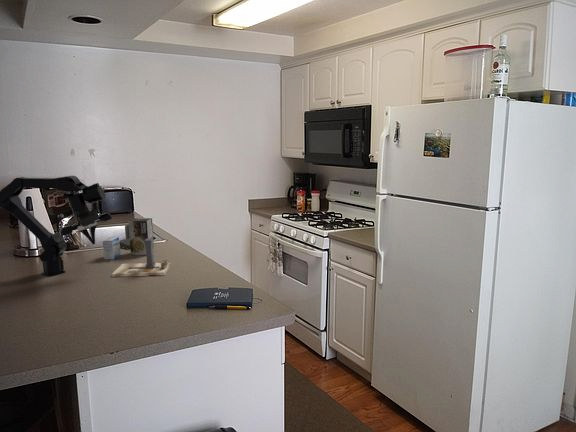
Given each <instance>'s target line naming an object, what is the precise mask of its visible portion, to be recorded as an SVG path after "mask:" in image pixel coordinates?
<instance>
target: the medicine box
mask: <svg viewBox="0 0 576 432" xmlns="http://www.w3.org/2000/svg"><path fill="white" fill-rule="evenodd" d="M119 241H120V237H119V236H110V237H108V238H107V239H105V240H102V249H103V258H104V260H107V261H108V260H116V259H117V258H119V257H120V256H121V247H120V243H119Z"/></svg>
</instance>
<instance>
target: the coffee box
mask: <svg viewBox="0 0 576 432" xmlns="http://www.w3.org/2000/svg"><path fill="white" fill-rule="evenodd" d="M127 223H128V224H127V225H128V234H129V238H130V248H131V249H130V255H133V256H139V255H140V256H141V255H143V256H146V244H145V240H146V239H147V238H153V239H154V232H153V231H154V229H153V217H152V218H150V217H147V218H146V217H144V218H143V217H139V218H138V217H137V218H134V217H133V218H132V219H129V220H127ZM154 243H155V242H153V253H155V246H154V245H155V244H154Z"/></svg>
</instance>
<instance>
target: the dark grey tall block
mask: <svg viewBox="0 0 576 432" xmlns="http://www.w3.org/2000/svg"><path fill="white" fill-rule="evenodd" d="M153 241H154V237H153V238H147V239H146V240H145V244H146V255H145V256H146V263H147V264H146V268H154V266H155V263H156V262H155V261H154V260H155V258H154V252H153Z"/></svg>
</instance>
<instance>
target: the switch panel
mask: <svg viewBox="0 0 576 432" xmlns="http://www.w3.org/2000/svg"><path fill="white" fill-rule="evenodd" d="M154 263H155V266H154V268H146V264H147V262H146V263H145V262H143V263H141V262H140V263H122V264H120V265H119V266H118V268H116V269H115V270H114V271H113V272H112V273H111V277H112V278H115V277H118V278H120V277H121V278H122V277H150V276H149V275H156V276H166V274H167V273H168V271H169V270H170V268H171V266H172V262H167V259H163V260H162V261H161V262H154ZM166 272H167V273H166Z"/></svg>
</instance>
